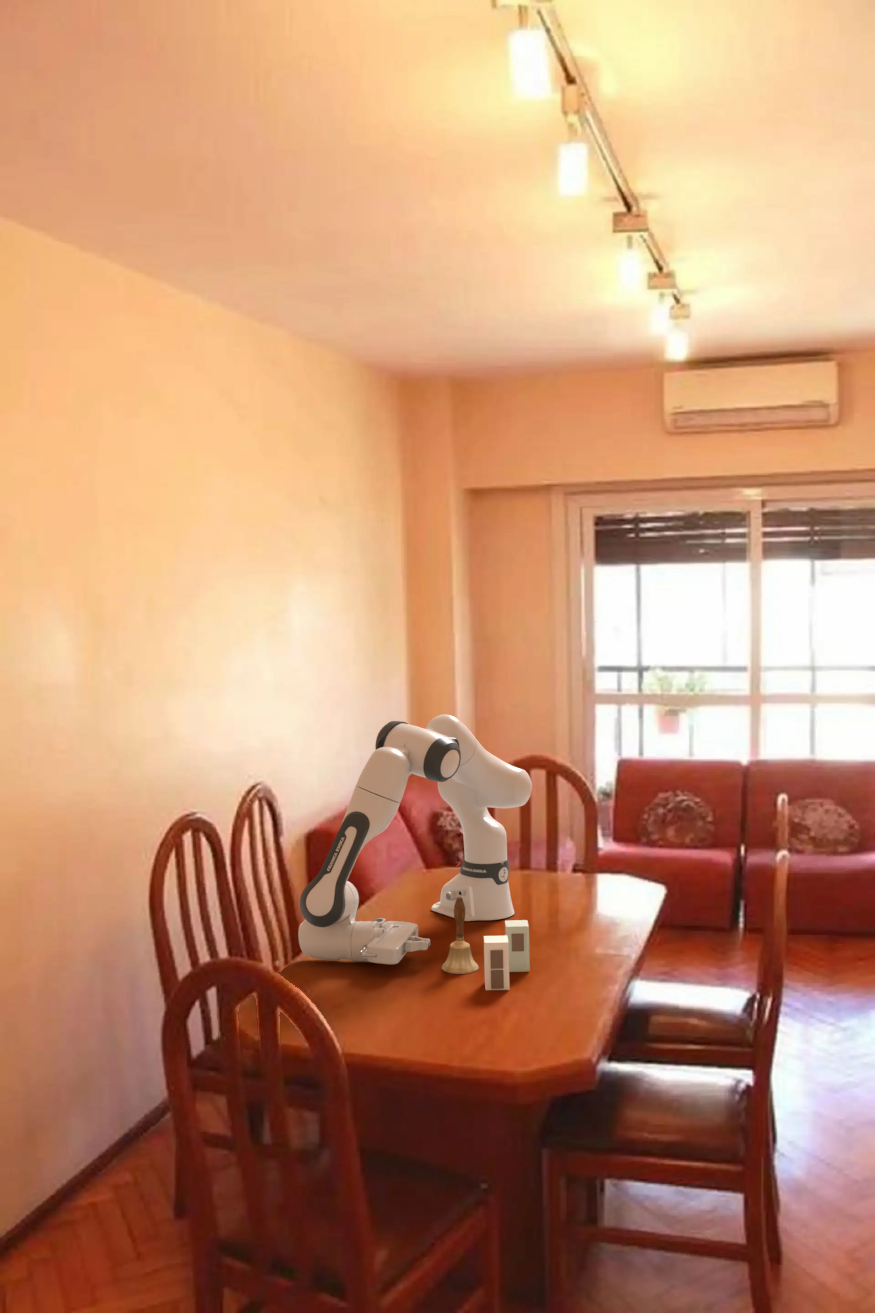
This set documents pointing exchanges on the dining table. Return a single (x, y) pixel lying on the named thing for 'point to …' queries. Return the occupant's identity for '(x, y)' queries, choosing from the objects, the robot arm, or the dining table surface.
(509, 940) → the sage block marked
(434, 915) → the dining table surface
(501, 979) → the cream block marked
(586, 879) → the dining table surface
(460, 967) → the hand bell
